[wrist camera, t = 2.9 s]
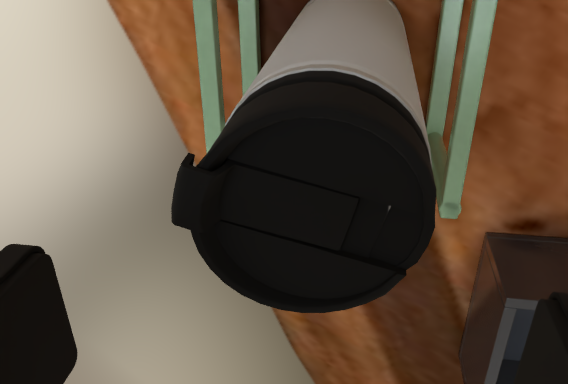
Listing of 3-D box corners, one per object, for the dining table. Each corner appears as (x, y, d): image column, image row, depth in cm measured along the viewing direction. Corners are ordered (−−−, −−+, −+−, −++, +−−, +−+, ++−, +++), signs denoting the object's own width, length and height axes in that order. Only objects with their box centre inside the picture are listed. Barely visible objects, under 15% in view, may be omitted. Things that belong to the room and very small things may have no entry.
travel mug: (305, -36, 28) (189, 69, 11) (422, 0, 28) (495, 164, 11) (277, 73, 31) (152, 289, 14) (382, 105, 31) (387, 362, 14)
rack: (237, -79, 27) (182, -71, 20) (473, -81, 26) (514, -72, 18) (248, 131, 33) (208, 201, 25) (439, 141, 32) (459, 219, 24)
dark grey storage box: (485, 231, 34) (507, 298, 28) (639, 243, 33) (694, 315, 27) (458, 354, 40) (471, 430, 34) (588, 369, 38) (625, 450, 33)
